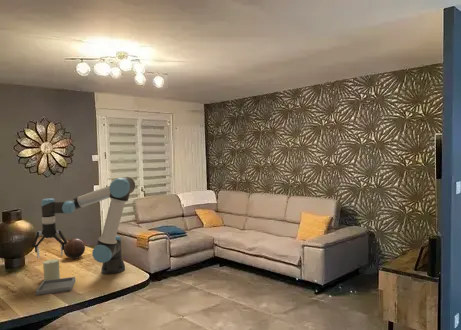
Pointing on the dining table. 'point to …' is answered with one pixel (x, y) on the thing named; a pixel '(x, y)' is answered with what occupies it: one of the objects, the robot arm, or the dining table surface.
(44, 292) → the tray
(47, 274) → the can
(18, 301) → the dining table surface
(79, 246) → the wooden sphere
